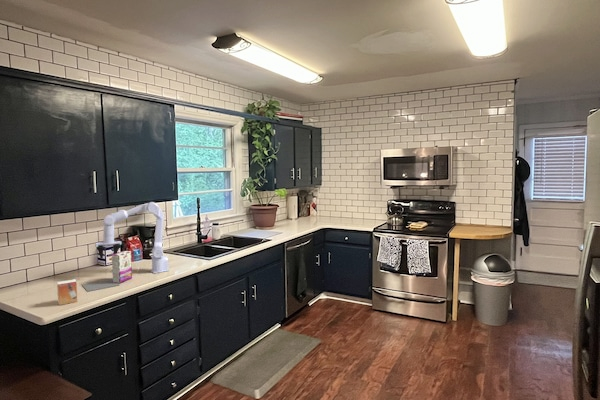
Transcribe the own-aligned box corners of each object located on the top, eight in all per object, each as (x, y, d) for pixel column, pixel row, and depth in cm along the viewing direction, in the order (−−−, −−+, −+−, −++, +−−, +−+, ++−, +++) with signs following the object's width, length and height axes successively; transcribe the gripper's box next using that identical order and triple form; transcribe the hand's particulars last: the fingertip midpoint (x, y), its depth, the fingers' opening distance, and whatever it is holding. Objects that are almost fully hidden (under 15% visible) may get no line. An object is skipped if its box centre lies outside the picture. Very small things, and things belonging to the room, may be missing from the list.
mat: (112, 279, 223) (112, 278, 223) (119, 285, 211) (119, 284, 211) (81, 284, 213) (81, 284, 213) (87, 291, 200) (87, 291, 200)
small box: (58, 305, 181) (57, 284, 180) (58, 302, 185) (56, 281, 184) (78, 301, 185) (76, 281, 184) (76, 298, 190) (75, 278, 189)
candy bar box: (124, 277, 225) (124, 250, 224) (132, 278, 224) (131, 251, 223) (112, 282, 214) (111, 254, 213) (119, 283, 213) (119, 254, 212)
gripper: (118, 233, 233) (117, 254, 234) (93, 234, 222) (92, 257, 223) (123, 234, 228) (122, 256, 229) (97, 236, 217) (97, 259, 218)
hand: (108, 257), depth 226 cm, fingers open, 7 cm apart
